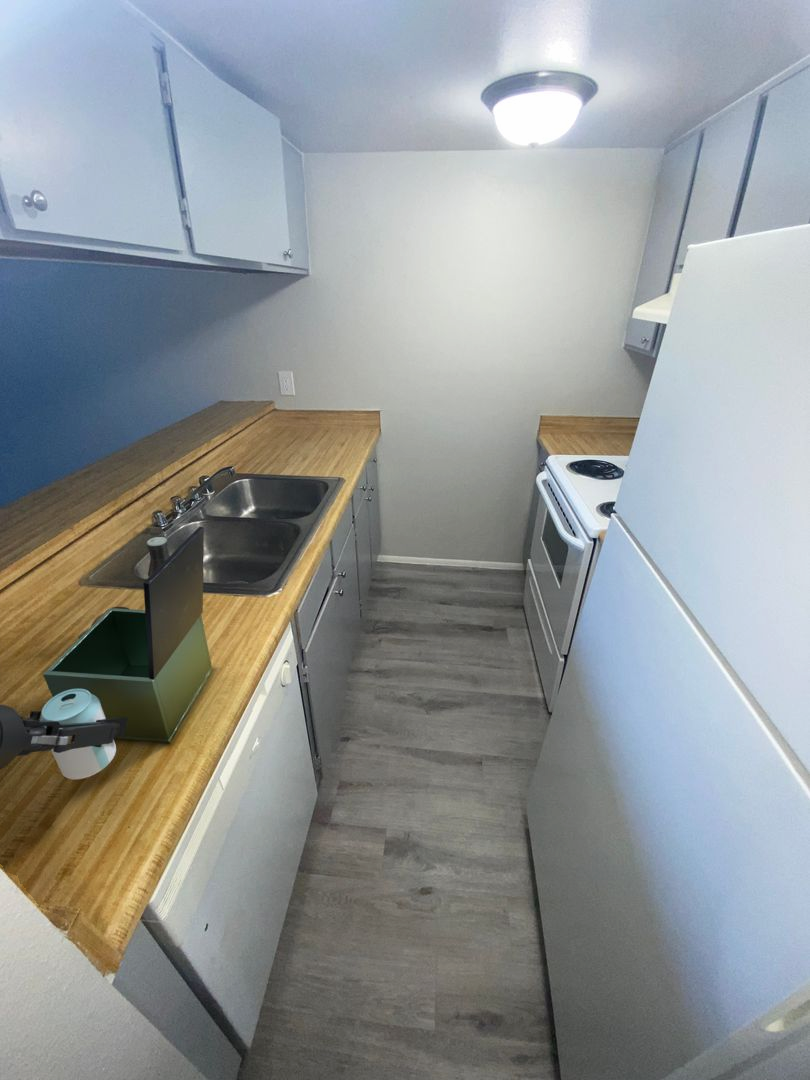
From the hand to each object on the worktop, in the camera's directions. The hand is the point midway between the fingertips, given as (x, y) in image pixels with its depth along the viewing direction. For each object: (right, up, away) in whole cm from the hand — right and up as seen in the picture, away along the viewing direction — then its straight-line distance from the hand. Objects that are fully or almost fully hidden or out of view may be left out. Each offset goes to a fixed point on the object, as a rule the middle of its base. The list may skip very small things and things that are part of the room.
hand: (98, 724), depth 72 cm
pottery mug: (-17, +6, +30) cm, 35 cm away
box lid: (+9, +19, +5) cm, 21 cm away
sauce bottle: (-8, +11, +40) cm, 42 cm away
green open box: (-1, -2, +16) cm, 16 cm away
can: (0, -5, -1) cm, 5 cm away
